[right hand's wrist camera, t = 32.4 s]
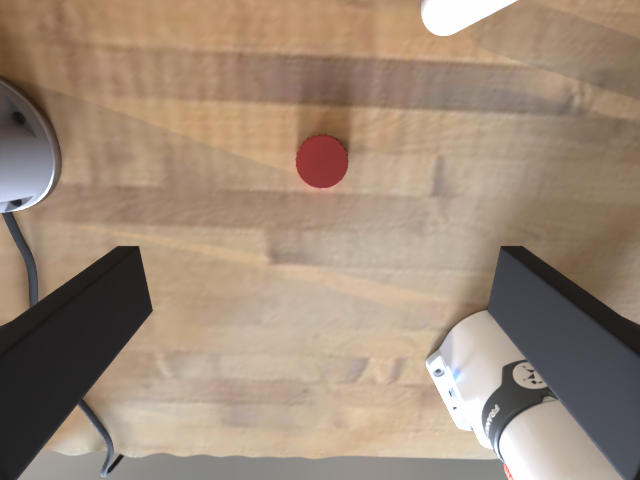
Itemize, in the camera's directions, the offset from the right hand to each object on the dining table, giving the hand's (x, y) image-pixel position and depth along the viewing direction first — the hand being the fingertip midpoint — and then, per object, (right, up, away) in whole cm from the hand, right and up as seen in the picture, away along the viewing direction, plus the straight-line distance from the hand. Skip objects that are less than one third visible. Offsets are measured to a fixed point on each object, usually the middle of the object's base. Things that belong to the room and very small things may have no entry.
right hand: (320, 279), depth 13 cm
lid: (0, +10, +26) cm, 28 cm away
